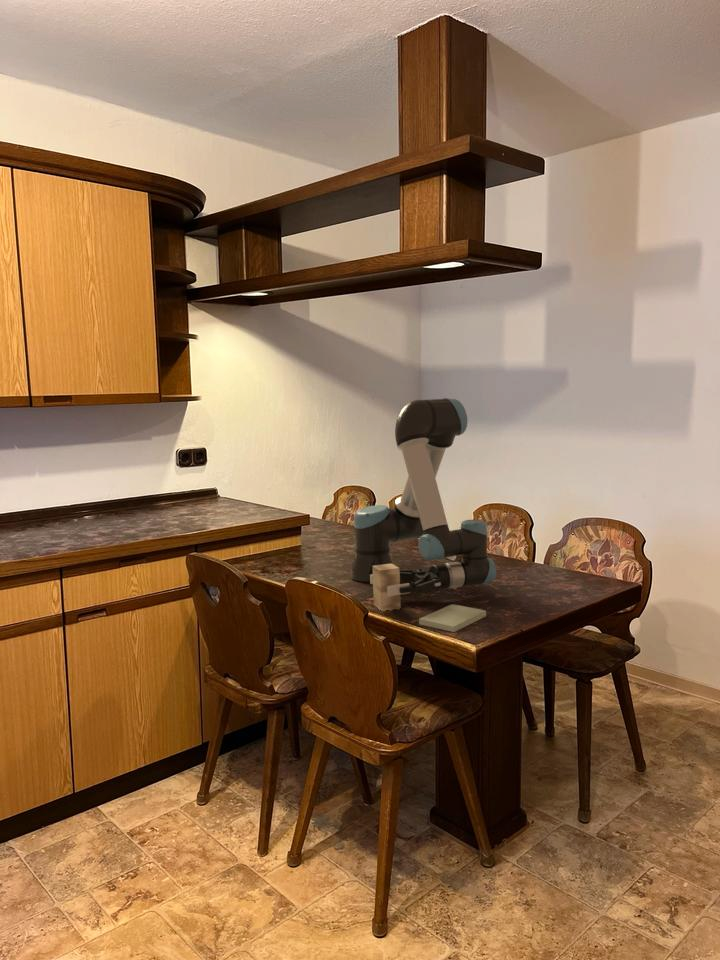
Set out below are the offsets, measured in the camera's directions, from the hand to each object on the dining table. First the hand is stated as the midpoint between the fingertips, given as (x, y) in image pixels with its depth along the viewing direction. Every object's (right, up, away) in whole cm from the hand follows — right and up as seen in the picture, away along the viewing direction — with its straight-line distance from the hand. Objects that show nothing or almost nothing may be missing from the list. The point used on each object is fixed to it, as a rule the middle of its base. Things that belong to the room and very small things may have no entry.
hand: (378, 585), depth 209 cm
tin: (+27, +1, +56) cm, 63 cm away
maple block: (+3, -7, +2) cm, 7 cm away
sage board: (+20, -8, -12) cm, 24 cm away
